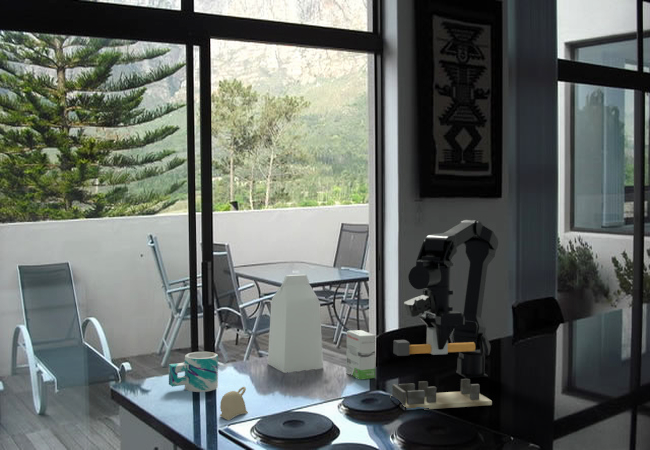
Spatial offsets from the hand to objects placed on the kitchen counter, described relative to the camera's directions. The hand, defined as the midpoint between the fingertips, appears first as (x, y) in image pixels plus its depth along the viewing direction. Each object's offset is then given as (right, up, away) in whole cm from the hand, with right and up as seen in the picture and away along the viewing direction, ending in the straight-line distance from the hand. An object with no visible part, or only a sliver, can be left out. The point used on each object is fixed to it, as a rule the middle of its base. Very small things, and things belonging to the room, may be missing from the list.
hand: (437, 347), depth 184 cm
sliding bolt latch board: (-1, -11, -9) cm, 15 cm away
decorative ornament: (-48, -12, -21) cm, 54 cm away
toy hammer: (0, -1, 0) cm, 1 cm away
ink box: (-18, -10, +15) cm, 26 cm away
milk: (-37, -10, +25) cm, 45 cm away
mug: (-61, -11, 0) cm, 62 cm away
